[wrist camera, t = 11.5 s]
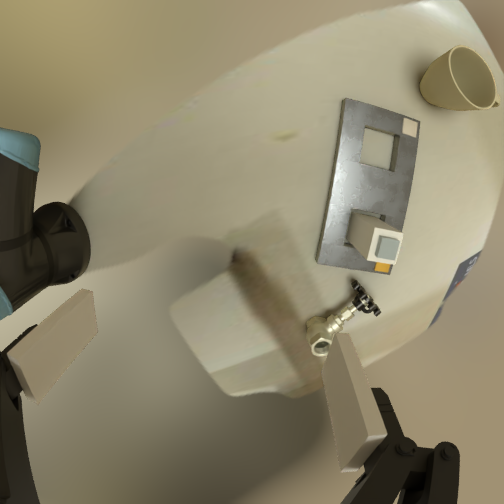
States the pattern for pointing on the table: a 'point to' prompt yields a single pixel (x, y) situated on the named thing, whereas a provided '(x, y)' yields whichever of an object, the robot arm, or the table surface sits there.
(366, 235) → the plug
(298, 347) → the table surface
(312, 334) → the valve
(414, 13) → the table surface
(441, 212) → the table surface
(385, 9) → the table surface
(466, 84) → the mug
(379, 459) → the robot arm
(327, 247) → the grey slotted tray
